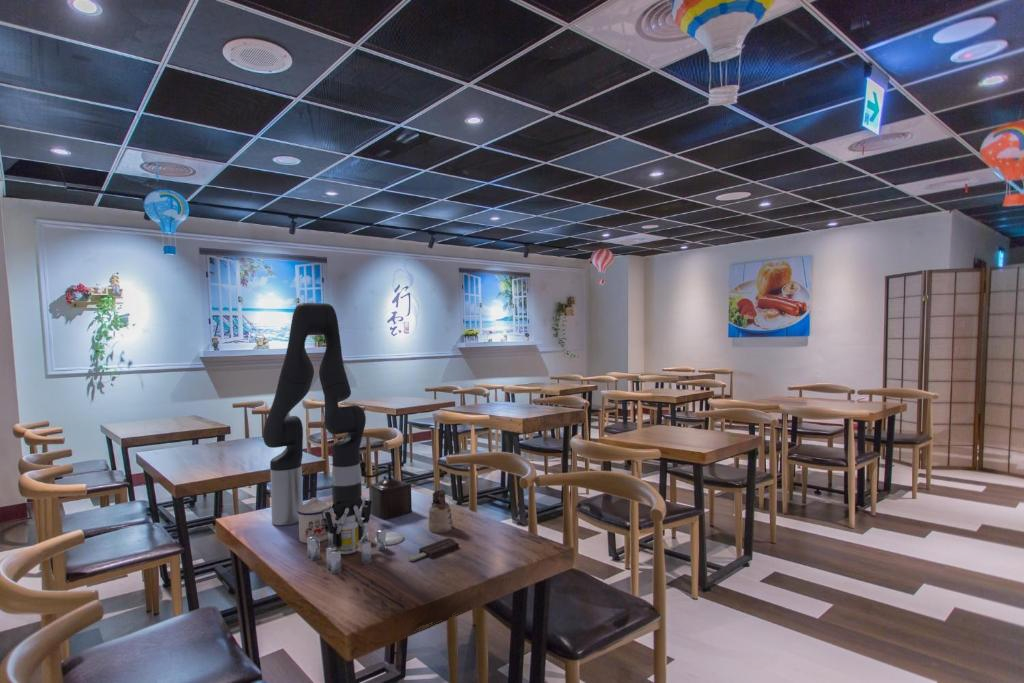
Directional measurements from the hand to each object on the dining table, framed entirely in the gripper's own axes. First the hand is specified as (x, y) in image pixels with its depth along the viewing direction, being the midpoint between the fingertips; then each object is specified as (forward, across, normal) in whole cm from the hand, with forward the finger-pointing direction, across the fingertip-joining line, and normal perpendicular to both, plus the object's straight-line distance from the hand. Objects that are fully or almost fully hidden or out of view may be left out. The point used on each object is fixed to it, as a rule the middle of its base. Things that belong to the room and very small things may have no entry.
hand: (348, 542), depth 142 cm
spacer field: (+3, 0, 0) cm, 3 cm away
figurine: (+3, -27, +6) cm, 28 cm away
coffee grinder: (+3, -24, -19) cm, 31 cm away
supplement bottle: (+2, 0, 0) cm, 2 cm away
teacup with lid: (+3, -1, -17) cm, 18 cm away
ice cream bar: (+3, -15, +18) cm, 23 cm away
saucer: (+3, -12, +1) cm, 13 cm away
